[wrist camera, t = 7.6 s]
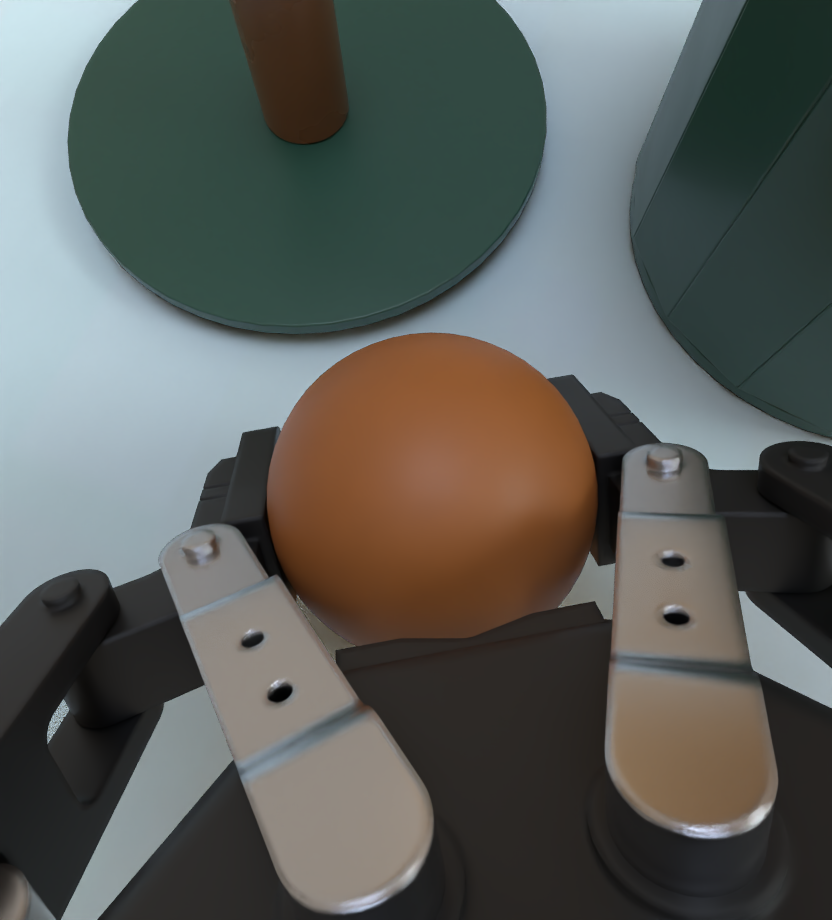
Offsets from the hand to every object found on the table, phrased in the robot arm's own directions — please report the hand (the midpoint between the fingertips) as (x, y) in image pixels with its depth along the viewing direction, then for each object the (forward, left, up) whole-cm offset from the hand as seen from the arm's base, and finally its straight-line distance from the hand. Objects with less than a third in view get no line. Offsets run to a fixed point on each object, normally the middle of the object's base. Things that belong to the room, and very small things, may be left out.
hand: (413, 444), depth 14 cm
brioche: (0, -2, -4) cm, 5 cm away
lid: (0, +12, -4) cm, 13 cm away
